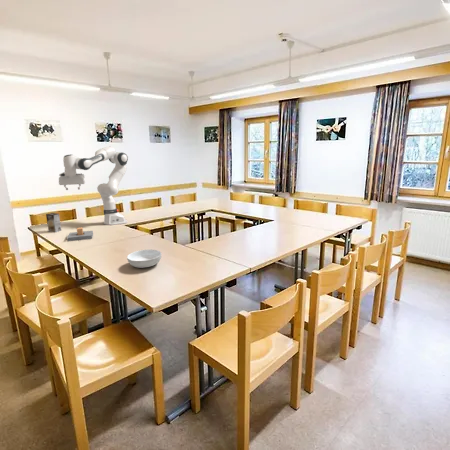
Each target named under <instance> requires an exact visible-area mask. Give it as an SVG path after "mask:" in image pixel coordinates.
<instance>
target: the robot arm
mask: <svg viewBox="0 0 450 450" xmlns="http://www.w3.org/2000/svg"><path fill="white" fill-rule="evenodd" d="M62 160H63V167H64V172H61V173H59V175H58V176H59V177H58V185H59V186H63V188H65V190H66V191H68V190H69V188H68V187H67V186H69V185H74V186H75V185H78V187H77V190H81V185H85V183H86V181H85V174H84V173H81V172H80V173H77V170H81V171H88V170H89V169H90V168H92V167H93V166H95V165H96V164H98V163H100V162H104V161H107V160H108V161H109V162H110V163H111V164H115V165H114V167H113V169H112V171H111V172H110V174H109V176H108V181H107V183H106V182H105V183H104V182H103V183H100V184H98V185H97V187H96V188H97V192H98V193H99V196H100V197H101V200H102V203H103V216H104V217H103V218H104V219H103V220H104V221H103V225H109V226H114V225H115V226H116V225H121V224H127V223H128V220H127V219H126V218H125V215H124V214H122V213H120V212H119V211H120V210H119V209H118V208H117V206H116V200H115V199H114V197H113V196H115V195H117V194H118V193H119V185H120V182H121V181H122V179H123V177H124V175H125V174H126V171H127V163H128V160H129V156H128V155H127V154H126V153H124V152H121V151H119V152H116V149H115V148H114V147H113V146H106V147H102V148H99V149H98V150H96V151H95V152H94V155H93V156H91V157H89V158H87V157H85V158H79V157H77V156H75V155H74V154H66V155H64V156H63V159H62Z"/></svg>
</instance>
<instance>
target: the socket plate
mask: <svg viewBox="0 0 450 450" xmlns="http://www.w3.org/2000/svg"><path fill="white" fill-rule="evenodd" d="M83 234H84V235H77V231H73V232H69V233H68V235H67V237H66V238H67V242H76V241H84V240H92V239H93V237H94V230H83Z"/></svg>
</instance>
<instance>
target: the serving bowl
mask: <svg viewBox="0 0 450 450" xmlns="http://www.w3.org/2000/svg"><path fill="white" fill-rule="evenodd" d="M126 258H127V262H128V263H129V265H130V266H132V267H135V268H141V269H142V268H143V269H144V268H149V267H153V266H155V265H157V264H159V262H160V261H161V260H162V252H161V251H160V250H158V249H141V250H135V251H133V252H131V253H129V254H127V256H126Z"/></svg>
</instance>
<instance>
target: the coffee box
mask: <svg viewBox="0 0 450 450" xmlns="http://www.w3.org/2000/svg"><path fill="white" fill-rule="evenodd" d="M45 217H46V223H47V224H46V225H47V231H48V232H51V233H57V232H58V233H59V232H61V231H62V225H61V219H60V218H61V217H60V213H59V212H58V213H55V212H50V213H46V214H45Z"/></svg>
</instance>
